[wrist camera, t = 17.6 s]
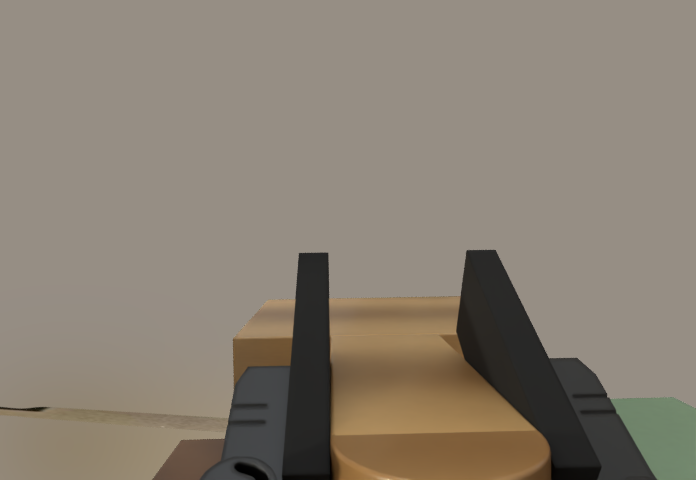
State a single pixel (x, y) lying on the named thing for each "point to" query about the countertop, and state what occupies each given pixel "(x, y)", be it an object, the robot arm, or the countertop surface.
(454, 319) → the beech board
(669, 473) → the green board
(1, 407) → the countertop surface
